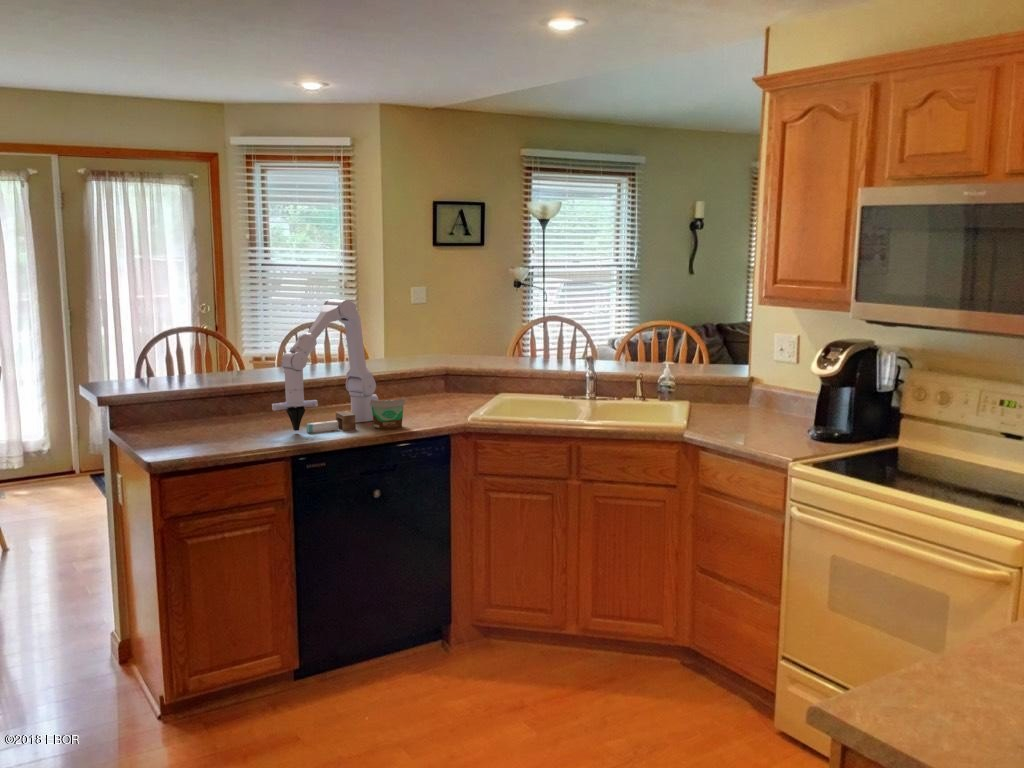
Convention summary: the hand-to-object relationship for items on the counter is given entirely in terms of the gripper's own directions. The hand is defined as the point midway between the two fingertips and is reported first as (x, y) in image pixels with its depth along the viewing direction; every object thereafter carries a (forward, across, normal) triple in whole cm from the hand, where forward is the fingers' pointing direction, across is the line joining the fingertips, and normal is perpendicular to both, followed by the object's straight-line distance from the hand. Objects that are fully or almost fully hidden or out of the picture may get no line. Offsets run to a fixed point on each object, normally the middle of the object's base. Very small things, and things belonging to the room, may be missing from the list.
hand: (296, 430), depth 283 cm
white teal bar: (+1, +9, 0) cm, 9 cm away
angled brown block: (+1, +17, 0) cm, 17 cm away
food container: (+1, +29, -9) cm, 31 cm away
